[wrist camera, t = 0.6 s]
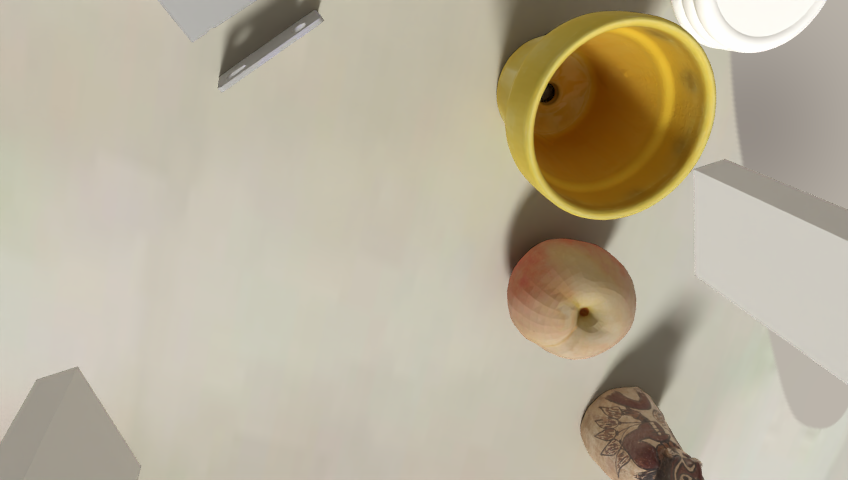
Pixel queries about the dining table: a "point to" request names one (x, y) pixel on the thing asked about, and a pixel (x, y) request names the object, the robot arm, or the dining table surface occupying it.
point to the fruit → (571, 298)
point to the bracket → (215, 3)
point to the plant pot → (608, 111)
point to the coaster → (745, 22)
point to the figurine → (634, 439)
